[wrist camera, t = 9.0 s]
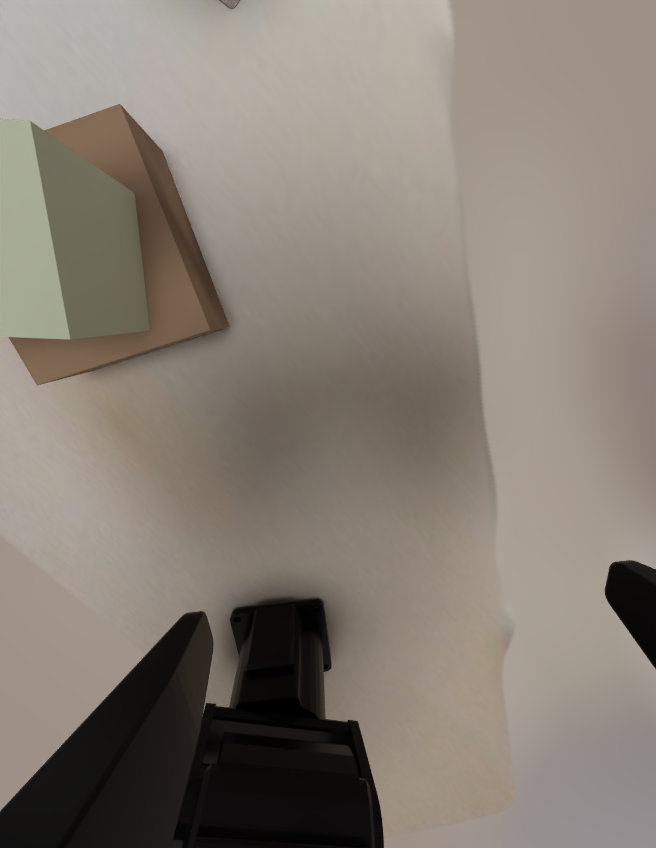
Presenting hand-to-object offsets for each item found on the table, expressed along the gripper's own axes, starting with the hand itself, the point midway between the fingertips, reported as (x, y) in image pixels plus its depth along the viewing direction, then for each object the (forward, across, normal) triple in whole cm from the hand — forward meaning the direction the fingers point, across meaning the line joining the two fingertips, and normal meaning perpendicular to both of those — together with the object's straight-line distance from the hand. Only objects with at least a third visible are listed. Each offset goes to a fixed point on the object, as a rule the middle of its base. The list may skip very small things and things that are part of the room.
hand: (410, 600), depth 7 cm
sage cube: (+9, +10, -9) cm, 17 cm away
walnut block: (+13, +10, -9) cm, 19 cm away
